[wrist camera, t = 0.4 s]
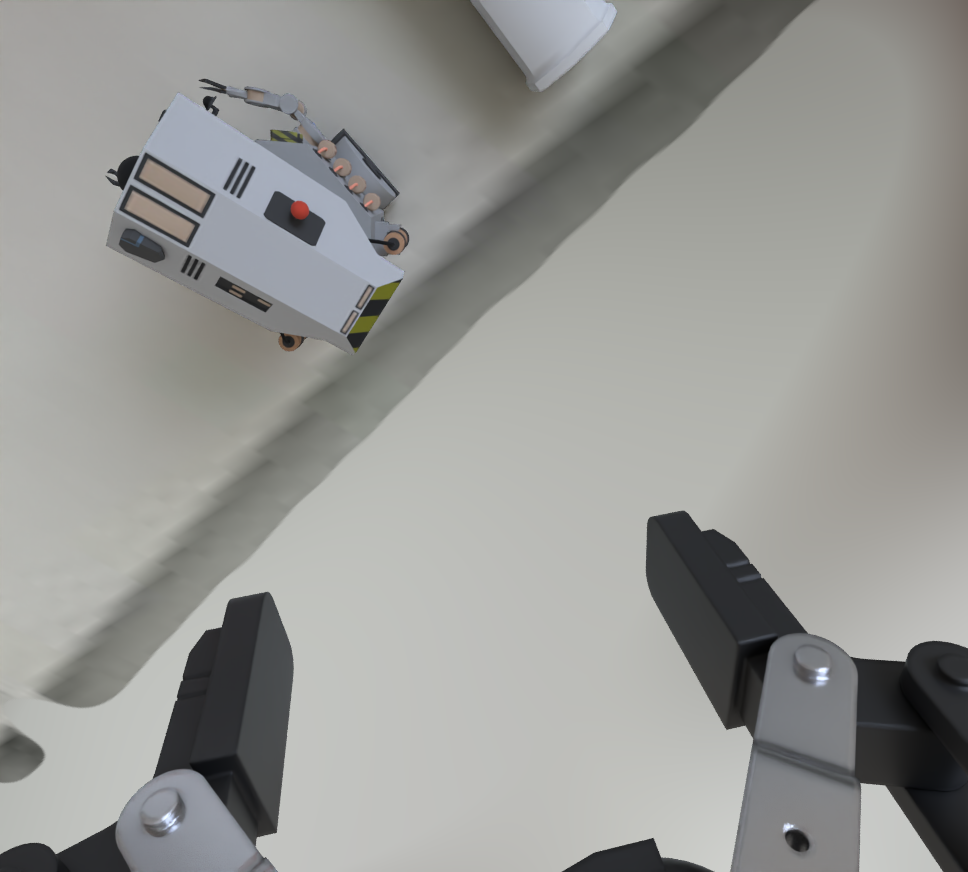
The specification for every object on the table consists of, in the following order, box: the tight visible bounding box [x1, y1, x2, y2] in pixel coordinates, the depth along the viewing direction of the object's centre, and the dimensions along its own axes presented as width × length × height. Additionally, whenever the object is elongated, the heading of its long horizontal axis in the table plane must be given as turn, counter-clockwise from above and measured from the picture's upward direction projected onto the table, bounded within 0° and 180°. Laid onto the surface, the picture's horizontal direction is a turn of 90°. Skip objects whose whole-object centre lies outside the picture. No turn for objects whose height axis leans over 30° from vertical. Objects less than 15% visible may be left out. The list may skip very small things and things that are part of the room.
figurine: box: [106, 79, 409, 355], centre depth 29 cm, size 9×12×15 cm
